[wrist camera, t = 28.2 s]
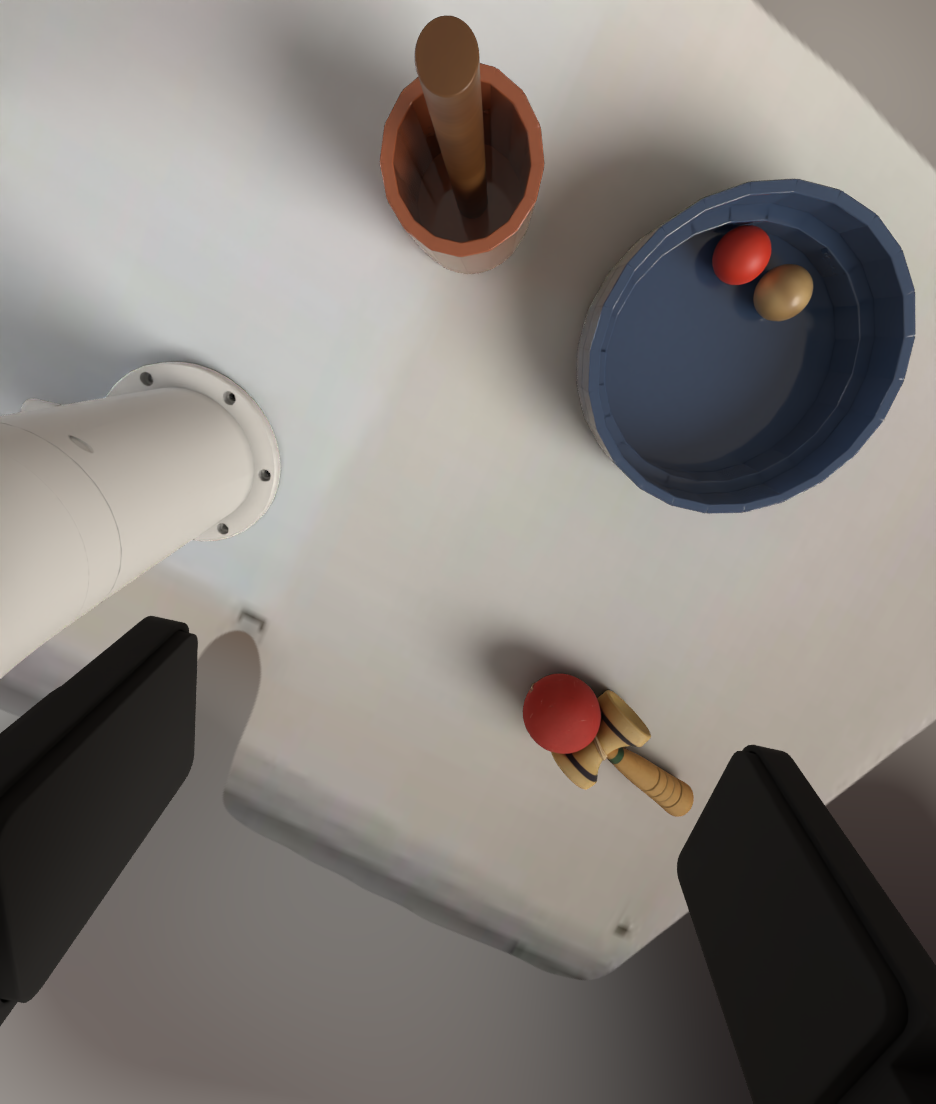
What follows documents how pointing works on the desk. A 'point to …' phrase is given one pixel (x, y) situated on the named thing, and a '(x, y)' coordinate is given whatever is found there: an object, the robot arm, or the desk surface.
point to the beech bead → (783, 292)
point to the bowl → (746, 350)
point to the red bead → (741, 255)
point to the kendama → (597, 738)
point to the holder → (425, 184)
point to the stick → (455, 106)
